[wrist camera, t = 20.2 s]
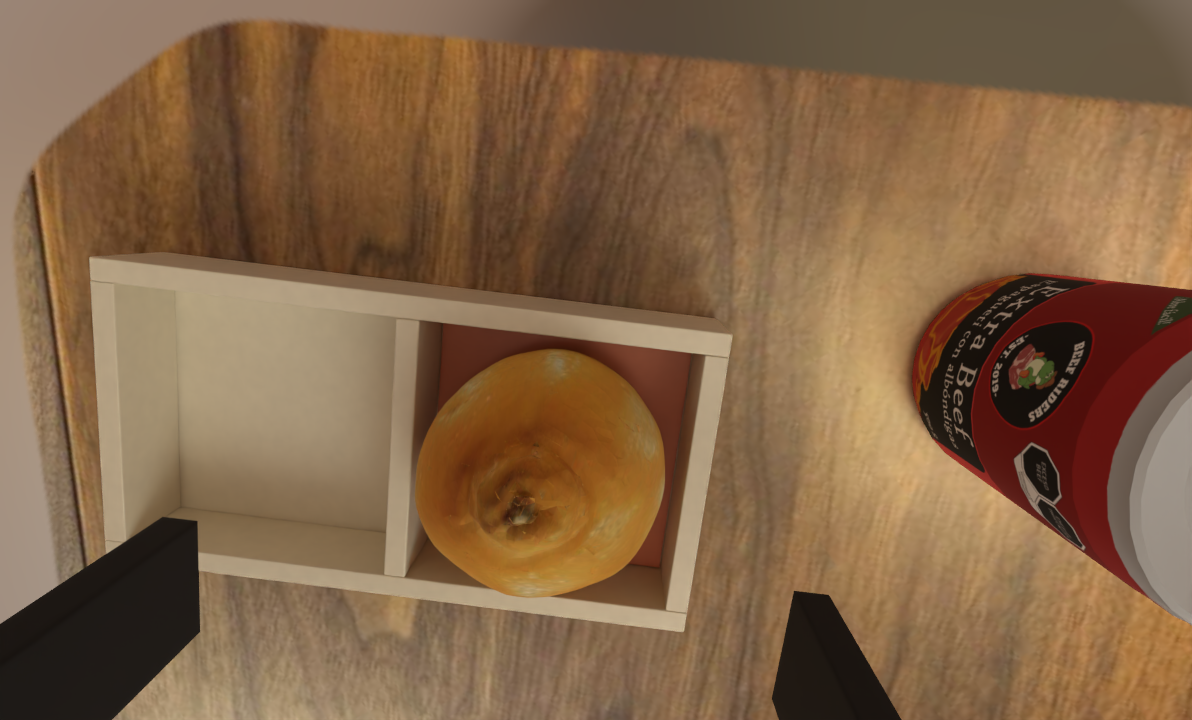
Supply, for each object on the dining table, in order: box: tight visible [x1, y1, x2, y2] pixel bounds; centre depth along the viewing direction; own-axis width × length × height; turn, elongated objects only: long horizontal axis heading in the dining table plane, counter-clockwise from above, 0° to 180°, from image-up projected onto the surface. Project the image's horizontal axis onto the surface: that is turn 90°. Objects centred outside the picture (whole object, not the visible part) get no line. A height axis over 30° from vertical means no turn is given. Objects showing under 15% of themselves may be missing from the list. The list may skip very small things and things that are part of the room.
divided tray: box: [89, 252, 733, 632], centre depth 24 cm, size 11×21×4 cm, turn 83°
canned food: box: [912, 273, 1192, 625], centre depth 19 cm, size 8×8×11 cm
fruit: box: [415, 349, 665, 598], centre depth 21 cm, size 8×8×8 cm
